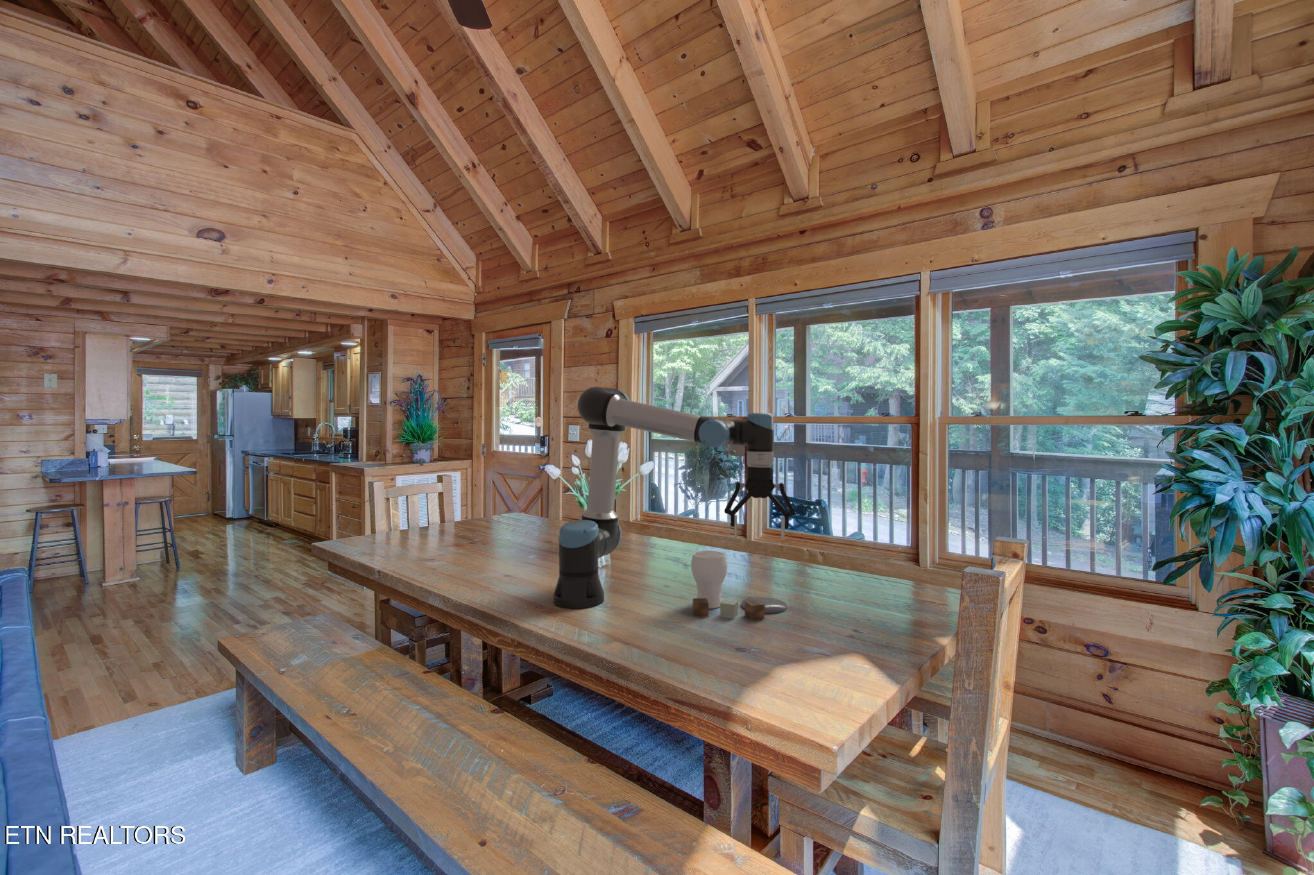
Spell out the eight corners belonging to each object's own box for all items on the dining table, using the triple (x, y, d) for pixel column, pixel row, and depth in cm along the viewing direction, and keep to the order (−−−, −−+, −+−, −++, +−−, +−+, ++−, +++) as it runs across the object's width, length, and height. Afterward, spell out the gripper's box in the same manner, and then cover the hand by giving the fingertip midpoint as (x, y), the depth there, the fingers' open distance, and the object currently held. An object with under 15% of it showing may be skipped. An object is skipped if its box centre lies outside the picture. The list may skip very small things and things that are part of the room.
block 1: (694, 617, 162) (694, 602, 162) (692, 612, 166) (692, 598, 166) (708, 616, 163) (708, 602, 162) (706, 612, 167) (706, 598, 166)
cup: (726, 599, 178) (727, 550, 177) (727, 610, 167) (727, 558, 167) (691, 598, 179) (692, 549, 178) (690, 609, 168) (690, 557, 168)
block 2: (720, 617, 162) (720, 602, 162) (724, 612, 166) (724, 598, 166) (734, 619, 161) (734, 604, 161) (738, 614, 164) (738, 600, 164)
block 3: (751, 620, 160) (751, 605, 160) (744, 615, 164) (744, 601, 164) (764, 618, 161) (764, 604, 161) (757, 614, 165) (757, 600, 165)
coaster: (741, 612, 166) (741, 609, 166) (741, 598, 179) (741, 596, 179) (788, 614, 164) (788, 611, 164) (784, 600, 177) (784, 597, 177)
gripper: (716, 466, 168) (715, 539, 169) (805, 467, 165) (804, 542, 166) (717, 464, 176) (716, 534, 176) (802, 465, 173) (801, 537, 173)
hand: (759, 538), depth 171 cm, fingers open, 13 cm apart
